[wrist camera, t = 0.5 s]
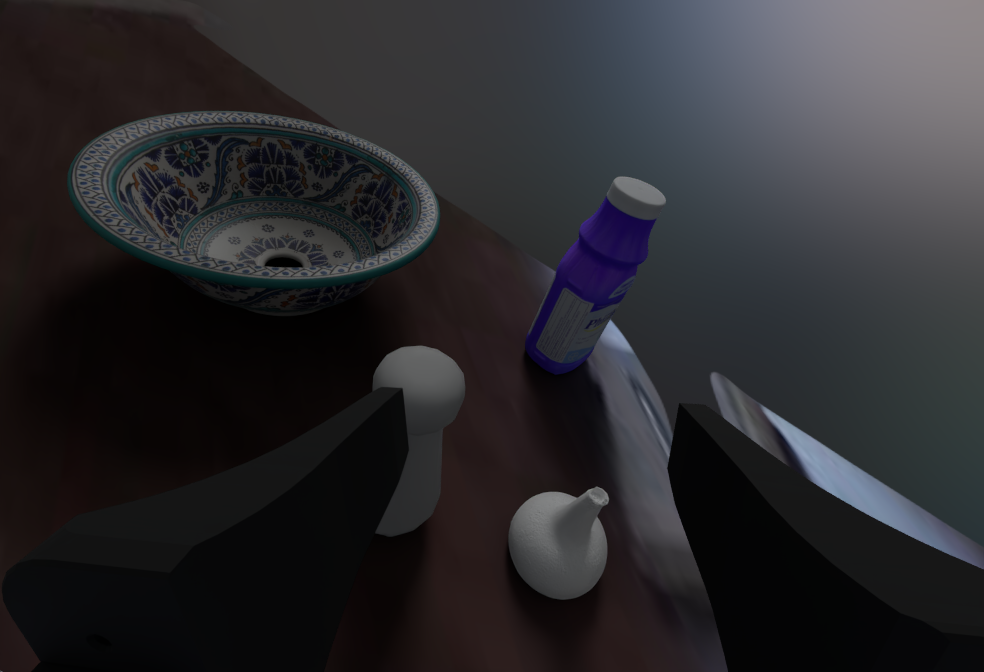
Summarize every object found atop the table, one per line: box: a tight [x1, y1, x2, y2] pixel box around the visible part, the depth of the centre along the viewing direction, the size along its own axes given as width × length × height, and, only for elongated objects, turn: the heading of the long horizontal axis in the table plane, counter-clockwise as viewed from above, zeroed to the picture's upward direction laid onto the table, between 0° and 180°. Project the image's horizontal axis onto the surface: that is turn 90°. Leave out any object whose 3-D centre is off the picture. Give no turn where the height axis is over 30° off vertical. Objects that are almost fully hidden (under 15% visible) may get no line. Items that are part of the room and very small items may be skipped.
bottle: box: [525, 177, 666, 375], centre depth 38 cm, size 7×6×17 cm
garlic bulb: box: [508, 487, 609, 600], centre depth 27 cm, size 6×6×8 cm
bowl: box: [67, 111, 440, 316], centre depth 38 cm, size 25×25×10 cm
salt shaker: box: [373, 346, 465, 537], centre depth 25 cm, size 6×6×13 cm
